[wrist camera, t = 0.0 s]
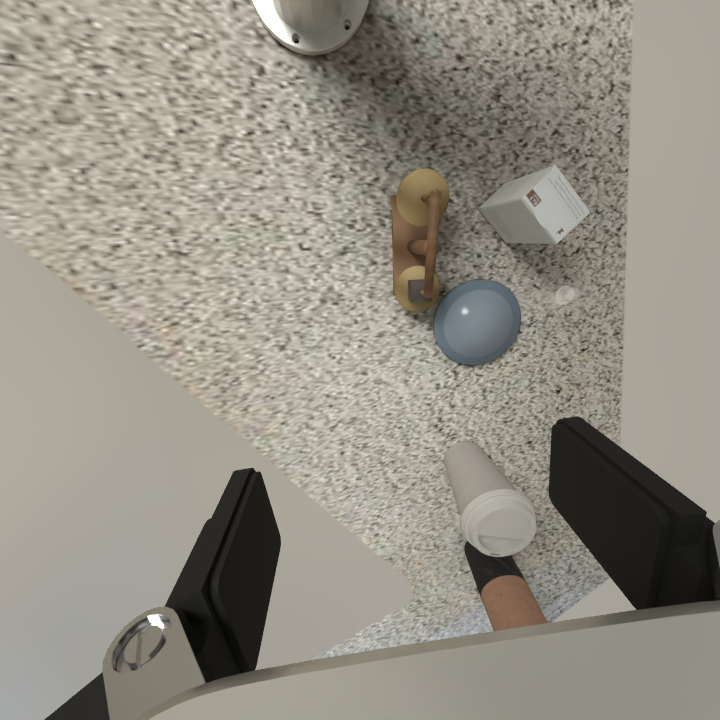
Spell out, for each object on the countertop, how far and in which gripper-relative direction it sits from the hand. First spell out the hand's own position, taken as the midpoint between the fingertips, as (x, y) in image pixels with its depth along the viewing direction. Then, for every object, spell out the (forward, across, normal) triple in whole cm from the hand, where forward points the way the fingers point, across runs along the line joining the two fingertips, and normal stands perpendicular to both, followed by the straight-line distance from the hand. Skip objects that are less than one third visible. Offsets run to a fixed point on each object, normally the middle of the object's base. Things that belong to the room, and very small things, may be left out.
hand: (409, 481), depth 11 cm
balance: (+37, -8, -5) cm, 38 cm away
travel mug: (+38, -16, +49) cm, 63 cm away
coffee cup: (+38, -13, +29) cm, 49 cm away
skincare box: (+38, -20, -7) cm, 43 cm away
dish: (+37, -16, +6) cm, 41 cm away
